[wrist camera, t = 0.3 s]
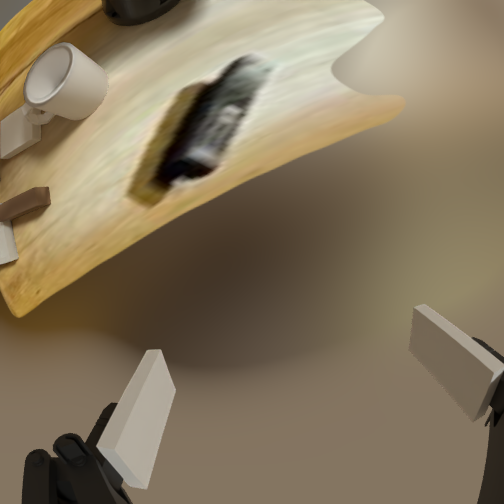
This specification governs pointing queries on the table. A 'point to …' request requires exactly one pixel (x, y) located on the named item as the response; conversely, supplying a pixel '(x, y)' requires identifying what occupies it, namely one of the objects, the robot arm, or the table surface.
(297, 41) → the table surface
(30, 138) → the white flat block
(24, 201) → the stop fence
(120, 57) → the table surface
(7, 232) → the tray
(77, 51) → the mug
